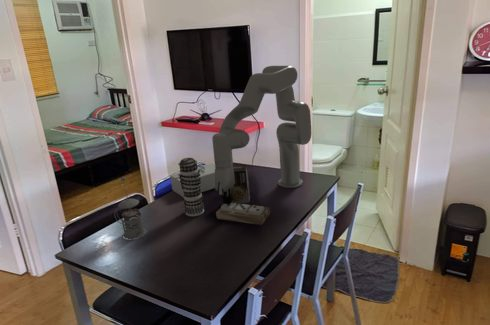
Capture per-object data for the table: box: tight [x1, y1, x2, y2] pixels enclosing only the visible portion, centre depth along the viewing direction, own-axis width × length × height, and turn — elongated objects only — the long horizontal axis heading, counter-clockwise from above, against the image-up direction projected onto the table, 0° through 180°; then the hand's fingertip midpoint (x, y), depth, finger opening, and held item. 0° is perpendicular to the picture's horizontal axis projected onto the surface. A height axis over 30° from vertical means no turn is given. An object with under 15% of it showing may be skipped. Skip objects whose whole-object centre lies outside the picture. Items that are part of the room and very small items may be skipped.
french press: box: [113, 176, 148, 239], centre depth 139 cm, size 10×12×25 cm
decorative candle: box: [178, 157, 205, 217], centre depth 153 cm, size 9×9×25 cm
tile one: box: [220, 203, 237, 212], centre depth 151 cm, size 5×5×3 cm
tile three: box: [235, 203, 251, 214], centre depth 149 cm, size 5×5×3 cm
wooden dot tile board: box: [215, 203, 271, 226], centre depth 149 cm, size 10×21×3 cm, turn 66°
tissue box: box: [169, 162, 215, 198], centre depth 183 cm, size 14×25×11 cm, turn 125°
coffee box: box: [231, 165, 251, 204], centre depth 162 cm, size 9×6×16 cm
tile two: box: [249, 204, 265, 216], centre depth 146 cm, size 5×5×3 cm
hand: (227, 203), depth 150 cm, fingers closed
